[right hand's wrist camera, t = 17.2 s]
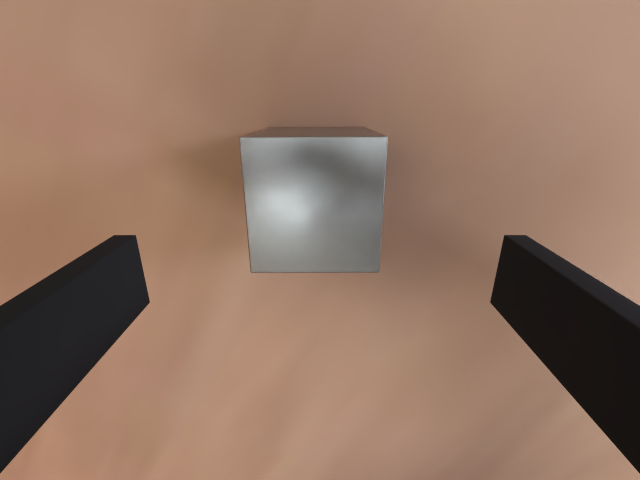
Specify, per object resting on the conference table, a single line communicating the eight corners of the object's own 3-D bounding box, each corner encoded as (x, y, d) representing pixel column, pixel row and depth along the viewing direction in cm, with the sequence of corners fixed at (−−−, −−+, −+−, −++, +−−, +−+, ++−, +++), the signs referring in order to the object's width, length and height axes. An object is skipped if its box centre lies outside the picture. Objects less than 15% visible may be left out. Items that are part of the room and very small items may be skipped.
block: (364, 126, 29) (388, 136, 19) (360, 220, 32) (379, 272, 22) (267, 127, 29) (238, 136, 19) (273, 221, 32) (250, 273, 22)
